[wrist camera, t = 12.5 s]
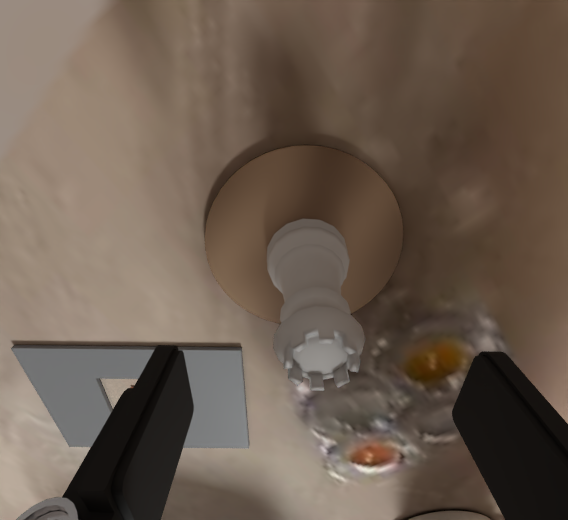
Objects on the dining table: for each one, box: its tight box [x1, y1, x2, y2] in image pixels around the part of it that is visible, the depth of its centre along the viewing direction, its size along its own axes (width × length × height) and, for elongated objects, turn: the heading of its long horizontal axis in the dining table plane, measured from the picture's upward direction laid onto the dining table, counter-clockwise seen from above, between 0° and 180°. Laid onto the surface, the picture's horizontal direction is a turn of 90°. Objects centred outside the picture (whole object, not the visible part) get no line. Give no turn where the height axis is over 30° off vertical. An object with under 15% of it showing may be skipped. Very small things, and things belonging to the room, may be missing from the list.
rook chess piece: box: [267, 219, 366, 391], centre depth 13 cm, size 4×4×8 cm
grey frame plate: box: [11, 345, 249, 448], centre depth 24 cm, size 16×12×1 cm
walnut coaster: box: [205, 145, 403, 324], centre depth 17 cm, size 11×11×1 cm
